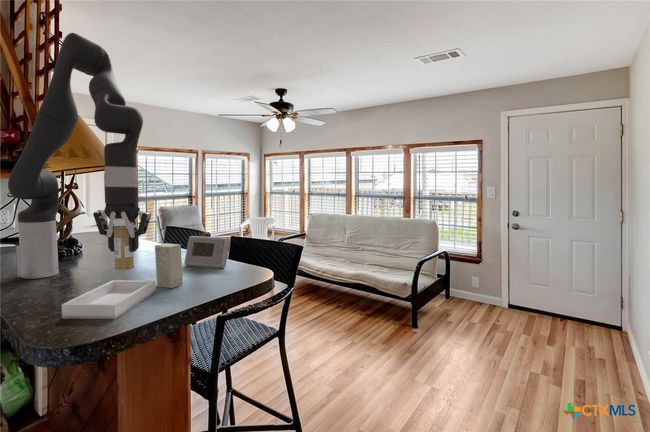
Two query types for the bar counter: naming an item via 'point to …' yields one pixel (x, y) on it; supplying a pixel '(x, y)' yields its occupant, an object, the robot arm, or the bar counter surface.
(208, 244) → the digital clock
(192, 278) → the bar counter surface
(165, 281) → the skincare box
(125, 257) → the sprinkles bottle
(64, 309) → the tray
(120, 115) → the robot arm
